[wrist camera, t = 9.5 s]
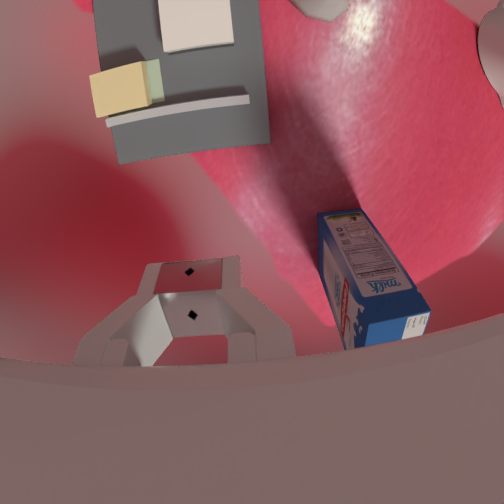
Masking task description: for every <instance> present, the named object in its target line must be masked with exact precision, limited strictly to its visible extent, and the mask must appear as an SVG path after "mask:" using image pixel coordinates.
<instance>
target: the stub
mask: <svg viewBox="0 0 504 504" xmlns="http://www.w3.org/2000/svg"><path fill="white" fill-rule="evenodd" d="M89 78H90V84H91V90H92V96H93V101H94V107H95V112H96V117H97V118H98V117H102V116H106V115H110V114H114V113H118V112H123V111H127V110H131V109H136V108H141V107H145V106H149V105H150V104H152V99H151V93H150V86H149V80H148V73H147V66H146V61H140V62H136V63H132V64H128V65H124V66H120V67H116V68H113V69H109V70H106V71H102V72H99V73H96V74H93V75H90V76H89Z"/></svg>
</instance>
